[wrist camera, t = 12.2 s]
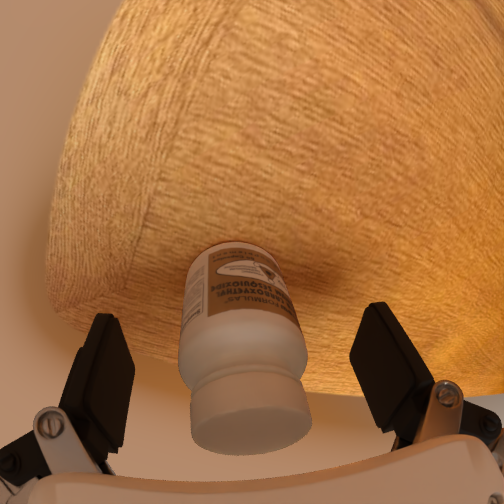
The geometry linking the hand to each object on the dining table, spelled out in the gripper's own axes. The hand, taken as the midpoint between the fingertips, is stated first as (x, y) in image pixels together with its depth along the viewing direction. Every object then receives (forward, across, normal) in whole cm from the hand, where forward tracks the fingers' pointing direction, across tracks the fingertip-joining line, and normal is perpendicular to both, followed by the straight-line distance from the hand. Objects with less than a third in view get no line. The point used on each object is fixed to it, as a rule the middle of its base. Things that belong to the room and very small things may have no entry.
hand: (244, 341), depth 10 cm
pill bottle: (+4, 0, 0) cm, 4 cm away
